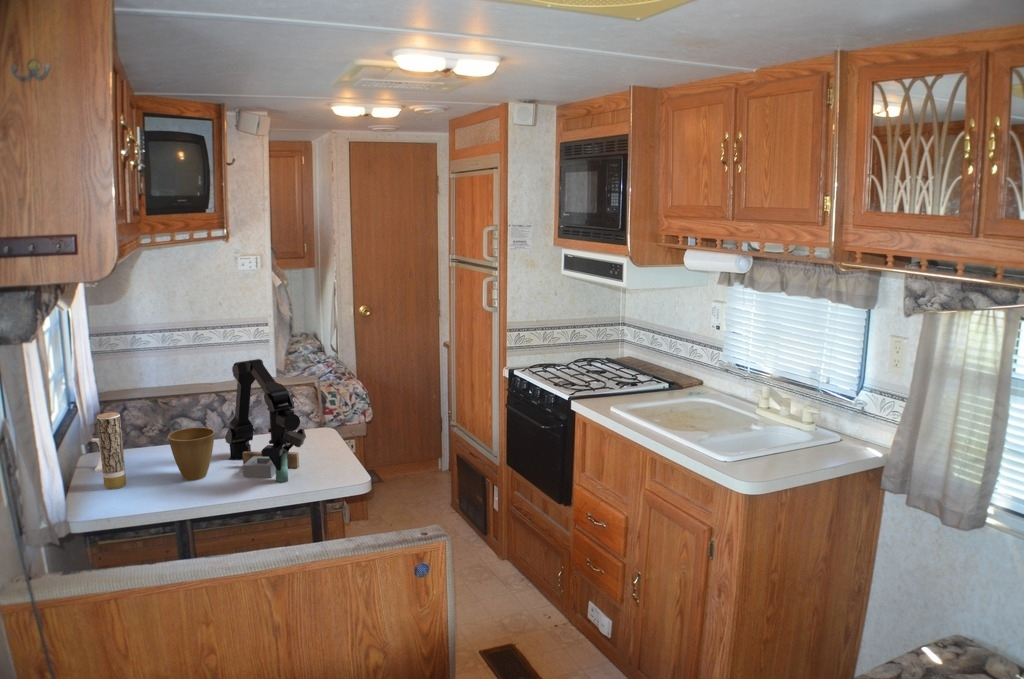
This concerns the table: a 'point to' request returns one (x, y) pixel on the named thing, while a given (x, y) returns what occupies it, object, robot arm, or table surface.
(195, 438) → the plant pot
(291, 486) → the table surface
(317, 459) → the table surface
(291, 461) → the backstop wall
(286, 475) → the dowel
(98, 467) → the headphone stand
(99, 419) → the brown bark cylinder
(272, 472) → the socket block
